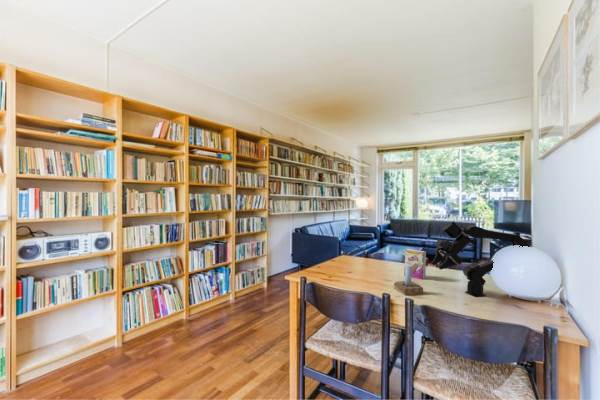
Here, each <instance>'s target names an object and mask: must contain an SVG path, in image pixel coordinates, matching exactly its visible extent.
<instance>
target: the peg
mask: <svg viewBox="0 0 600 400" xmlns="http://www.w3.org/2000/svg"><path fill="white" fill-rule="evenodd" d="M404 273H405V276H404V281H405V286H406V287H411V281H412V277H411V266H405V265H404Z"/></svg>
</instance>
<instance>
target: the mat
mask: <svg viewBox="0 0 600 400" xmlns="http://www.w3.org/2000/svg"><path fill="white" fill-rule="evenodd" d="M398 282H405V280H398V281H395V283H398ZM411 282H413V283H415V284H417V285H419V286H421V287H422V285H420V284H418V283H416V282H415V281H412V280H411Z"/></svg>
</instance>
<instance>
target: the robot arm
mask: <svg viewBox="0 0 600 400" xmlns="http://www.w3.org/2000/svg"><path fill="white" fill-rule="evenodd" d="M441 229H442V230H441V231H442V232H443V233H445V234H446V235H447V236H448V237H449V238H450V239H454V240H453V241H450V240H447V239H444V240H442V239H440V238H438V239H437V240H436V243H435V245H436V246H437V247H436V248H435V255H434V258H433V260H432V262H431V265H432V266H435V265H437V264H439V263H441V264H440V266H439V268H438V269H439V270H445V269H447V268H450V267H454V266H458V265H459V266H460V265H461V264H462V263H463V259H462V258H461V257H460V256H459V254H460V253H463V252H464V249H465V248H466V247H467V246H468V245H471V246H475V239H495V240H499V241H505V242H510V243H511V245H512V247H513V246H514V245H520V246H522V247H523V246H528V247H531V245H529V244H528V243H527V242H526V241H525V240H524V239H523V238H522V236H521V235H519V234H516V233H508V232H501V231H496V230H489V229H485V228H482V227H479V226H477V225H473V224H471V225H470V224H469V225H467V226H466V227H459V226H458V224H456V222H455V221H451V222H449V223H448V224H446V225H444V226H443V228H441ZM520 246H519V247H520ZM493 260H494V259H491V260H489V261H486V262H484V263H479V264H478V263H477V262H476V261H474V262H471V263H470V264H466V266H464V267H463V270H462V272H463V275H464V276H465V277H466V280H468V281H467V286H466V287H467V288H466V289H467V290H465V293H466V294H467V295H471V296H472V297H477V298H478V297H486V296H487V294H485V293H484V285H486V280H485V279H484V278H483V277H484V276H485V275H486V274H487V273H490V272H492V271H491V270H492V268H493V263H494V262H493Z"/></svg>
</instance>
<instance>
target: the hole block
mask: <svg viewBox="0 0 600 400" xmlns="http://www.w3.org/2000/svg"><path fill="white" fill-rule="evenodd" d="M413 282H414V281H412V282H411V287H406V286H405V282H398V283H396V282H394V283H393V290H395V291H397V292H399V293H400V294H402V295H404V296H413V295H424V287H422V285H421V286H419V285H420V284H419V285H417V284H418V283H417V284H415V283H416V282H414V283H413Z"/></svg>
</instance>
